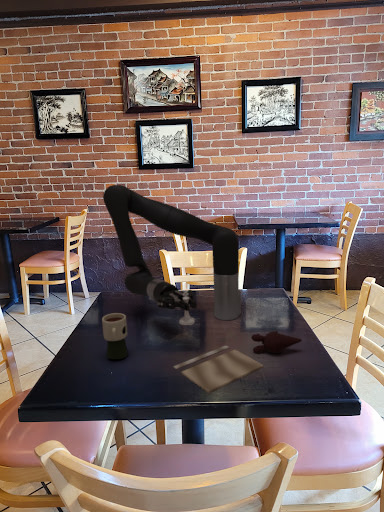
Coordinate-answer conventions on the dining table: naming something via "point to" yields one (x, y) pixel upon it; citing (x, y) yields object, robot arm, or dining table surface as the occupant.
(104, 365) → the dining table surface
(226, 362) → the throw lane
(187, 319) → the chess piece
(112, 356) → the character mug
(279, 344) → the dark brown lumpy figurine
